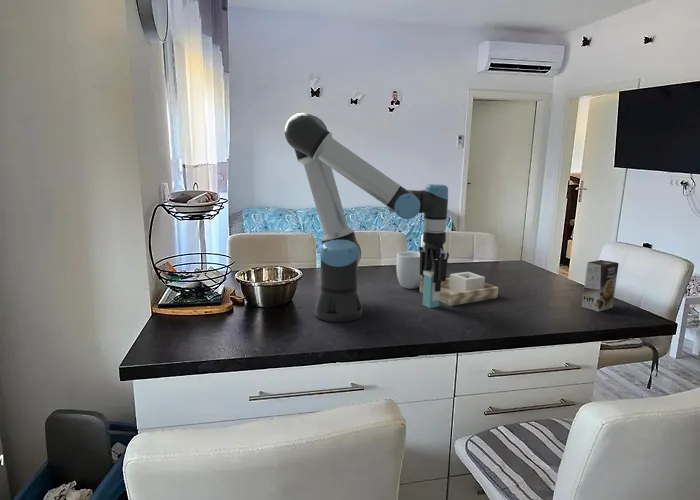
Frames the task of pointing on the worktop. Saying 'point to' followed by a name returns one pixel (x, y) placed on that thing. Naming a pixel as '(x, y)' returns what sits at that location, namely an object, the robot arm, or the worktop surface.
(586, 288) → the coffee box
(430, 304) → the plug
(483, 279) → the inlet
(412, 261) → the mug
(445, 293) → the wooden tray
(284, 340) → the worktop surface
